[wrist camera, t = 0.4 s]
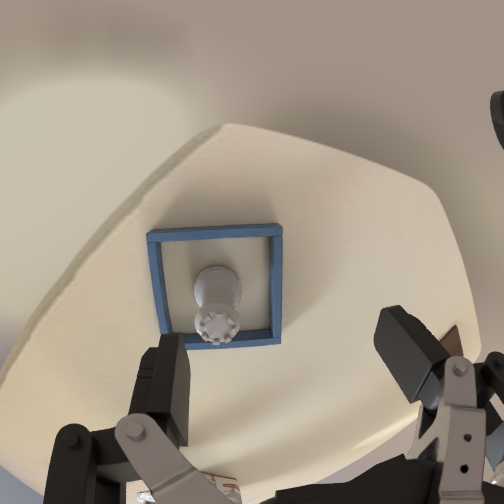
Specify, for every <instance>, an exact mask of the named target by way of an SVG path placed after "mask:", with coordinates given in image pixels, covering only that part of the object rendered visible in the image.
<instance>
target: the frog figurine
mask: <svg viewBox="0 0 504 504" xmlns="http://www.w3.org/2000/svg"><path fill="white" fill-rule="evenodd" d="M137 498H138V500H139V501H141V502H143V503H144V504H157V503H156V501H155V500H154V499H153V497H152V496H151V494H150V491H147V492H141V493H139V494H138V495H137Z"/></svg>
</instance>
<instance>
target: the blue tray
mask: <svg viewBox="0 0 504 504" xmlns="http://www.w3.org/2000/svg"><path fill="white" fill-rule="evenodd" d="M282 235H283V229H282V226H281V225H279V224H251V225H228V226H208V227H190V228H173V229H157V230H150V231H149V232H148V233H146V238H147V242H148V243H147V247H148V256H149V264H150V272H151V279H152V286H153V293H154V299H155V305H156V311H157V317H158V322H159V328H160V333H161V334H167V333H172V328H171V322H170V316H169V310H168V303H167V296H166V289H165V281H164V274H163V265H162V256H161V246H160V242H164V241H181V240H200V239H219V238H239V237H261V236H270V329H268V330H256V331H243V332H237V334H236V335H235V336H234V337H232V340H231V341H230V342H228V343H227V344H226V342H225V341H224V342H220V345H213V342H211V341H209V340H208V341H207V342H206V341H205V340H204V339H203V338H202V336H201V335H200V334H182V336H183V340H184V344H185V348H186V350H201V349H223V348H239V347H253V346H264V345H274V344H281V318H282Z"/></svg>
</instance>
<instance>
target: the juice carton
mask: <svg viewBox="0 0 504 504" xmlns="http://www.w3.org/2000/svg"><path fill="white" fill-rule="evenodd" d="M202 474H203V475H204V476H205V477H206V478H207V479H208V480H209V481H210V482H211V483H212V484H213V485H214V486H215V487H216V488H217V489H219V490H220V491H221V492H222V493H223V494H224V495H225V496H226V497H227V498H228V499H229V500H231V501H232V502H233V503H234V504H242V500H241V494H240V490H239V486H238V482H237V480H234V479H229V478H223V477H217V476H213V475H209V474H205V473H202Z"/></svg>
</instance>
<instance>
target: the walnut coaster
mask: <svg viewBox="0 0 504 504" xmlns="http://www.w3.org/2000/svg"><path fill="white" fill-rule="evenodd" d="M439 342H440V343H441V345H442V346H443V347H444V348H445V349H446V350H447V352H448V353H449V354H450V355H451V356H462V357H463V351H462V346H461V341H460V337H459V333H458V329H457V326H456V325H455V326H454V327H453V328H452V329H451V330H450V331H449V332H448V333H447V334H446V335H445V336H444V337H443V338H442V339H441V340H440V341H439Z"/></svg>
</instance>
